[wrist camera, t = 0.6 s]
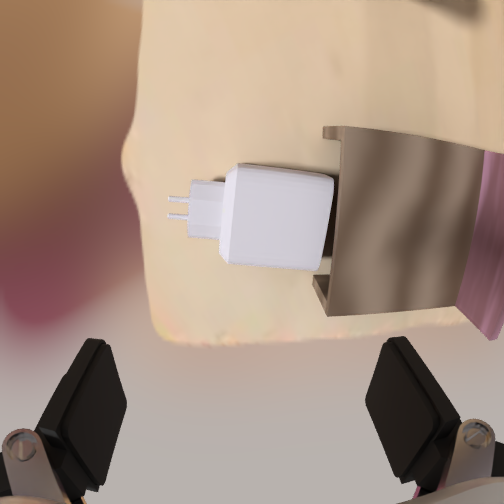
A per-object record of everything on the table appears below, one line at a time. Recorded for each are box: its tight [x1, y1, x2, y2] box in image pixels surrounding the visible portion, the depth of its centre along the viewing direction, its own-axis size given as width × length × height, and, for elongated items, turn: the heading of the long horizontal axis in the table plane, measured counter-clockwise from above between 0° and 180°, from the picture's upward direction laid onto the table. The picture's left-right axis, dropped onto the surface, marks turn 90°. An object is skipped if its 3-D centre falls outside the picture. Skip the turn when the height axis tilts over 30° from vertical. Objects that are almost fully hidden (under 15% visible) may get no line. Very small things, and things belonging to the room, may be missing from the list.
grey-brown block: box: [312, 126, 504, 340], centre depth 27 cm, size 17×17×14 cm
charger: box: [167, 163, 334, 271], centre depth 31 cm, size 5×9×15 cm
